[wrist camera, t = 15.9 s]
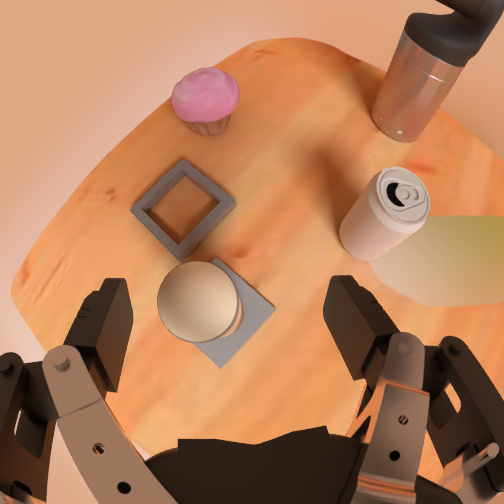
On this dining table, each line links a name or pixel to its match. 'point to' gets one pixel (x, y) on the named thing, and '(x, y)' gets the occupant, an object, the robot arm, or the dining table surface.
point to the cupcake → (206, 100)
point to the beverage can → (385, 213)
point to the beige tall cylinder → (199, 302)
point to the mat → (252, 320)
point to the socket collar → (203, 227)
